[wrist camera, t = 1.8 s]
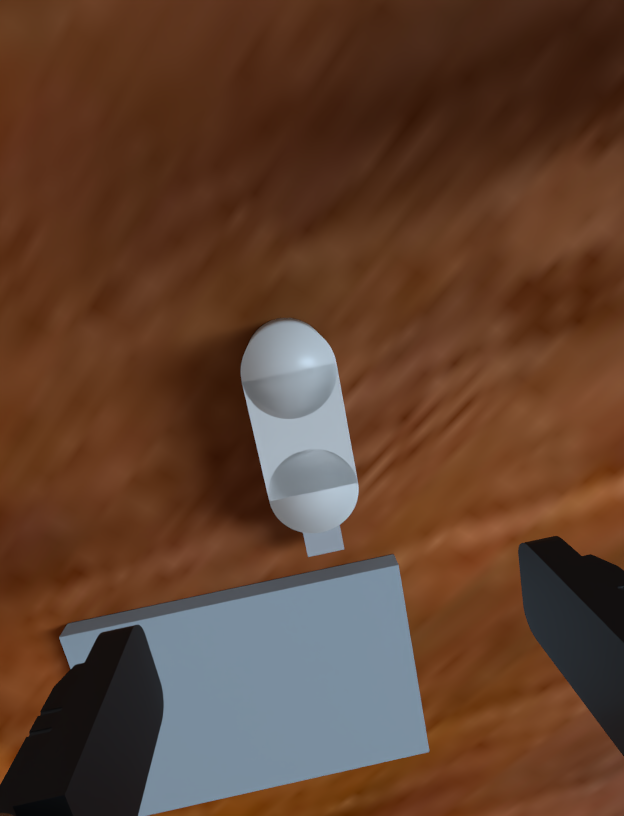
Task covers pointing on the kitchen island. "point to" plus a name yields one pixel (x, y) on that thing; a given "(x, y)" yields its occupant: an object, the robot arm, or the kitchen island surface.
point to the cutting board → (275, 681)
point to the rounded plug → (301, 430)
